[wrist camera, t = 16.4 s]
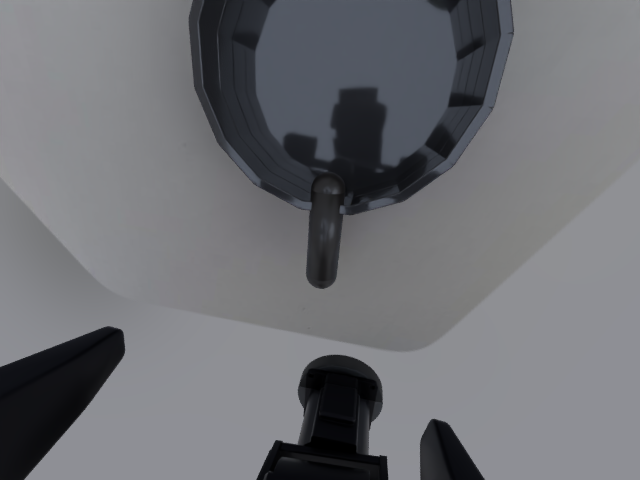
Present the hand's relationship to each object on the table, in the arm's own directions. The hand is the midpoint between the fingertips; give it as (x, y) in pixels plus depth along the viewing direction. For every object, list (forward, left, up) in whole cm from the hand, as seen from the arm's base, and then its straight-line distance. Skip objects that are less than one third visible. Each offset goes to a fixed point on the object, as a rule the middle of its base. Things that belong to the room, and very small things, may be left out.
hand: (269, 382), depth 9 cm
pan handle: (+1, 0, -10) cm, 10 cm away
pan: (+9, 0, -13) cm, 16 cm away
